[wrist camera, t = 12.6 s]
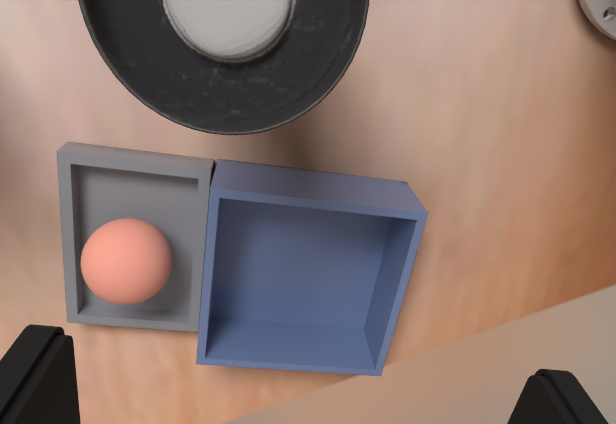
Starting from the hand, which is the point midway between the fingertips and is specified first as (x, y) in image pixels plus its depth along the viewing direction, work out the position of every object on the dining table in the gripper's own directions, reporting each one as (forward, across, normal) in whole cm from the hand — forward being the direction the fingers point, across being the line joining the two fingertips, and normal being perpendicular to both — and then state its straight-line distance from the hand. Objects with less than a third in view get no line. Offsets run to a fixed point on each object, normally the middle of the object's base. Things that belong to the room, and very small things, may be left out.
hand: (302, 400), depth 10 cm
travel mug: (+26, +4, -7) cm, 27 cm away
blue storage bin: (+26, -2, +12) cm, 29 cm away
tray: (+25, +10, +12) cm, 30 cm away
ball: (+22, +10, +12) cm, 27 cm away
